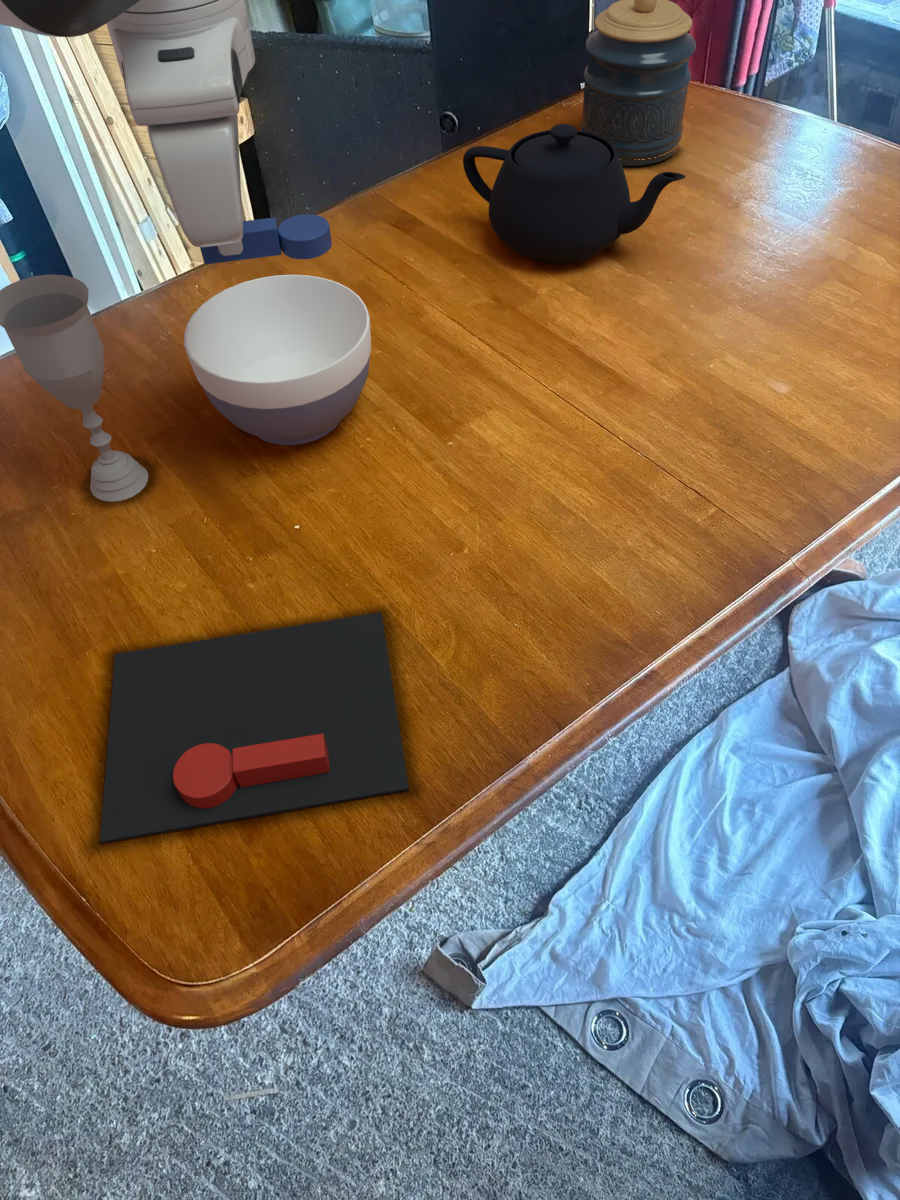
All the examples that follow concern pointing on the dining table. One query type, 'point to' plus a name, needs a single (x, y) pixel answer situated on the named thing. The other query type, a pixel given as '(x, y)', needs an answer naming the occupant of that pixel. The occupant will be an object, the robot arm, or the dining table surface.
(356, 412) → the dining table surface
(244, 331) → the bowl
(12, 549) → the dining table surface
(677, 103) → the canister
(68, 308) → the chalice
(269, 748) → the red spoon
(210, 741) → the mat
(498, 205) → the teapot
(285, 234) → the blue spoon
